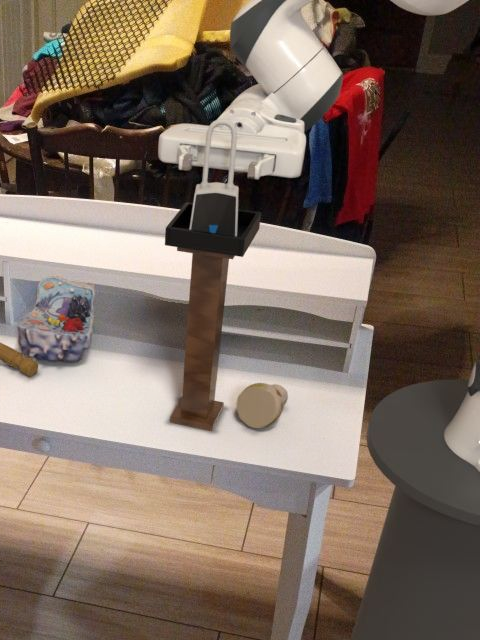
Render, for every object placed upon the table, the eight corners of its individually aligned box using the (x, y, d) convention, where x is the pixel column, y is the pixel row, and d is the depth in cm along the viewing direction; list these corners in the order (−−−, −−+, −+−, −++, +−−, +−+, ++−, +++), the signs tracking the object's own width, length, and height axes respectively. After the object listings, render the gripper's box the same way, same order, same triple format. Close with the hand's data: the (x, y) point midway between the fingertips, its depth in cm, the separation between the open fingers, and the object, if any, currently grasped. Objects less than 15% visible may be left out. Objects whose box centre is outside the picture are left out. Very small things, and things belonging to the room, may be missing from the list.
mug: (298, 407, 141) (305, 378, 132) (262, 449, 139) (267, 423, 130) (261, 382, 143) (265, 352, 134) (225, 424, 141) (227, 397, 132)
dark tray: (259, 229, 121) (261, 212, 120) (242, 257, 114) (245, 239, 113) (185, 218, 124) (186, 201, 123) (164, 245, 117) (165, 227, 116)
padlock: (188, 236, 118) (195, 122, 108) (190, 225, 121) (198, 113, 112) (236, 239, 117) (248, 125, 108) (237, 227, 120) (249, 115, 111)
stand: (226, 407, 141) (247, 230, 121) (214, 433, 135) (233, 252, 115) (180, 397, 143) (193, 222, 123) (166, 423, 137) (177, 244, 118)
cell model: (101, 272, 157) (92, 315, 141) (96, 326, 163) (88, 374, 147) (30, 265, 157) (14, 308, 141) (29, 320, 163) (13, 367, 147)
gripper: (174, 107, 123) (144, 135, 114) (316, 121, 118) (297, 152, 108) (172, 152, 127) (142, 182, 118) (308, 168, 122) (290, 202, 112)
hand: (218, 168), depth 113 cm, fingers open, 8 cm apart
